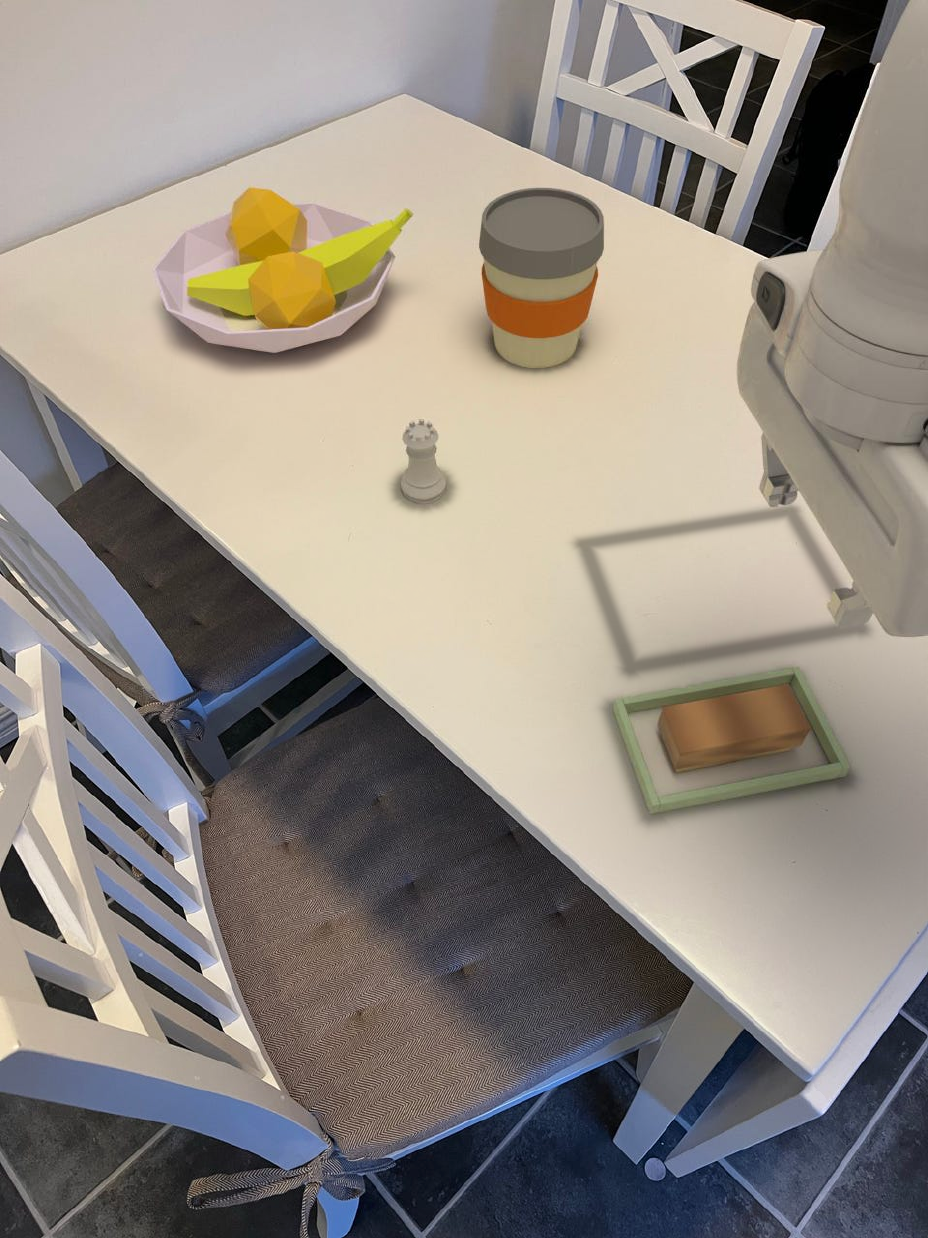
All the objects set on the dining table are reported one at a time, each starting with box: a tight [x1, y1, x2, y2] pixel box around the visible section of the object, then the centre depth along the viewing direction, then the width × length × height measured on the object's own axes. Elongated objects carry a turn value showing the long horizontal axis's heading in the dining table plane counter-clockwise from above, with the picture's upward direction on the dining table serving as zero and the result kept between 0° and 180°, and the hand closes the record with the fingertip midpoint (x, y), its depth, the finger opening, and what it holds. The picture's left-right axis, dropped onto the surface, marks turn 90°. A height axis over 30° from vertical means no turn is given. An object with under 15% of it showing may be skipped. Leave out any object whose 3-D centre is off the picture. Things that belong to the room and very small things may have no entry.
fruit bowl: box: [151, 186, 414, 354], centre depth 101 cm, size 28×27×11 cm
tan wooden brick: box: [656, 683, 812, 773], centre depth 68 cm, size 10×4×4 cm, turn 102°
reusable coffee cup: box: [478, 187, 605, 369], centre depth 95 cm, size 13×12×15 cm
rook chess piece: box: [400, 418, 447, 505], centre depth 84 cm, size 4×4×8 cm
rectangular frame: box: [612, 666, 852, 815], centre depth 69 cm, size 15×9×2 cm, turn 101°
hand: (808, 554), depth 52 cm, fingers open, 8 cm apart
